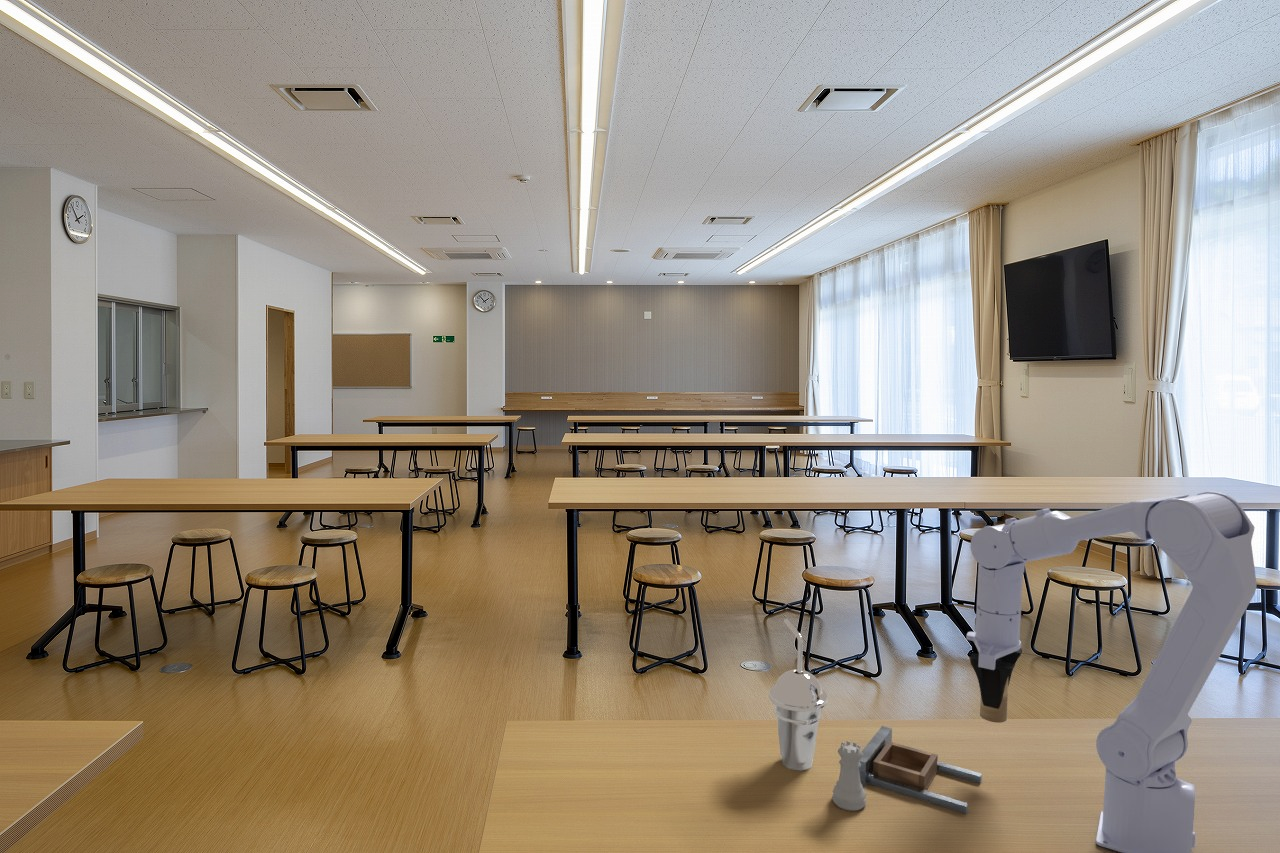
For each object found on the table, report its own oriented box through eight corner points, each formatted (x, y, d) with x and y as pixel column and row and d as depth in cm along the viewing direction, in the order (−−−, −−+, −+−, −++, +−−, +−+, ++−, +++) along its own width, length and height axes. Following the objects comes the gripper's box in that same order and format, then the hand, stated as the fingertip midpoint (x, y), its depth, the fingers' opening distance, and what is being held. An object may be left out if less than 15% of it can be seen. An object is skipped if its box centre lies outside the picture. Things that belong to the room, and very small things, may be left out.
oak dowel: (1008, 715, 114) (1011, 665, 113) (1003, 724, 111) (1006, 673, 110) (982, 709, 116) (984, 659, 115) (977, 718, 113) (979, 667, 112)
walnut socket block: (937, 772, 113) (937, 754, 113) (923, 794, 107) (924, 776, 107) (888, 757, 117) (888, 741, 117) (872, 779, 111) (873, 761, 111)
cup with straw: (765, 773, 113) (767, 637, 111) (770, 743, 121) (772, 616, 120) (826, 781, 111) (829, 643, 109) (826, 749, 119) (830, 621, 117)
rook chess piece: (867, 814, 103) (869, 755, 102) (832, 810, 104) (833, 752, 103) (865, 795, 107) (866, 739, 106) (831, 791, 108) (832, 735, 107)
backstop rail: (983, 777, 112) (984, 753, 112) (964, 818, 102) (965, 792, 102) (881, 747, 120) (882, 725, 120) (854, 783, 110) (855, 759, 110)
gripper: (979, 590, 120) (975, 677, 121) (956, 617, 108) (952, 712, 109) (1030, 599, 116) (1026, 688, 117) (1013, 627, 104) (1008, 726, 105)
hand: (994, 701), depth 113 cm, fingers closed on oak dowel, 3 cm apart
